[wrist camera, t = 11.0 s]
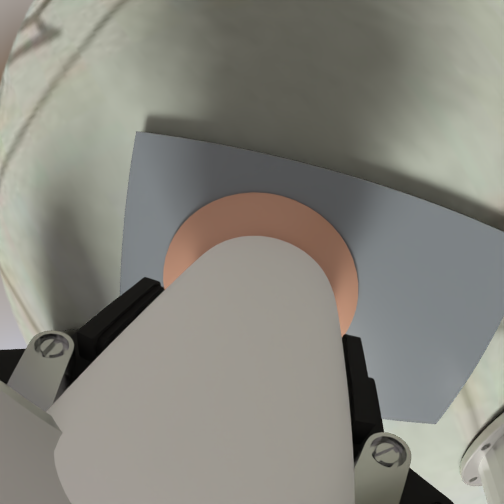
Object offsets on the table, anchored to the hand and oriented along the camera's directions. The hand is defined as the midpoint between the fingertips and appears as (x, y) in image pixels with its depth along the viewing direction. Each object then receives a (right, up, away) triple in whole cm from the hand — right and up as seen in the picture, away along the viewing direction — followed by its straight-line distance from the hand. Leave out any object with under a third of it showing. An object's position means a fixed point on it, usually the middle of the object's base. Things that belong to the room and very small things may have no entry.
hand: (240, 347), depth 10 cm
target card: (+4, +1, +4) cm, 6 cm away
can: (+1, +1, +3) cm, 3 cm away
